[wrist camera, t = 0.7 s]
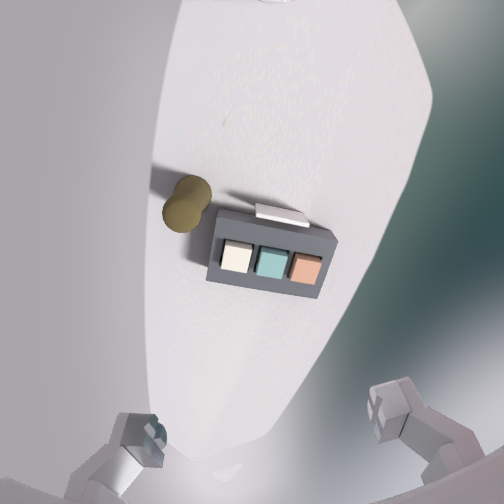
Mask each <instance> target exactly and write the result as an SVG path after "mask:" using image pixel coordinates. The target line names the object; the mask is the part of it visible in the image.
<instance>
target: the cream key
mask: <svg viewBox="0 0 504 504" xmlns="http://www.w3.org/2000/svg"><path fill="white" fill-rule="evenodd" d="M251 253H252V243H247V242H242V241H236V240H231V239H226V242H225V247H224V252H223V257H222V264H221V269H225V270H231V271H237V272H242V273H247V270H248V266H249V262H250V257H251Z"/></svg>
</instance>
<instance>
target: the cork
mask: <svg viewBox="0 0 504 504" xmlns="http://www.w3.org/2000/svg"><path fill="white" fill-rule="evenodd" d="M211 197H212V192H211V188H210V186H209V184H208V183H207V182H206V180H204V179H202V178H201V177H198V176H187V177H185V178H183V179H181V180H180V181H179V182H178V184H177V185H176V187H175V190H174V193H173V196H171V197H170V198H169V199H168V200H167V201H166V202H165V204H164V206H163V211H162V215H163V220H164V222H165V224H166V225H167V226H168V227H169V228H170V229H171V230H173V231H175V232H179V233H186V232H189V231H191V230H193V229H194V228H195V227H197V225H198V224H199V222H200V220H201V216H202V211H203V210H204V209H205V208H206V207H207V206H208V204H209V203H210V201H211Z"/></svg>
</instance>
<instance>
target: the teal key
mask: <svg viewBox="0 0 504 504" xmlns="http://www.w3.org/2000/svg"><path fill="white" fill-rule="evenodd" d="M287 259H288V255H287V251H286V250H284V249H279V248H274V247H268V246H263V245H261V246H260V250H259V254H258V258H257V262H256V275H259V276H265V277H271V278H277V279H282V275H283V272H284V269H285V265H286V262H287Z"/></svg>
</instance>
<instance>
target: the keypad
mask: <svg viewBox="0 0 504 504" xmlns="http://www.w3.org/2000/svg"><path fill="white" fill-rule="evenodd" d="M255 213H256V215H253V214H248V213H243V212H237V211H232V210H227V209H221V208H219V210H218V214H217V219H216V224H215V230H214V235H213V241H212V247H211V253H210V258H209V264H208V270H207V276H206V281H211V282H217V283H223V284H228V285H234V286H240V287H246V288H252V289H258V290H264V291H270V292H276V293H282V294H288V295H295V296H301V297H308V298H314V299H317V298H318V295H319V293H320V290H321V287H322V285H323V282H324V279H325V277H326V274H327V271H328V268H329V266H330V263H331V260H332V257H333V255H334V252H335V249H336V246H337V243H338V240H337V239H336V237H335V236H334V234H333V233H332V231H330V230H325V229H321V228H316V227H311V226H309V225H310V223H309V221H308V220H307V218H306V216H305V214H304V213H302V212H297V211H292V210H288V209H283V208H278V207H274V206H269V205H264V204H259V203H255ZM226 239H231V240H236V241H242V242H247V243H252V253H251V257H250V262H249V266H248V270H247V273H242V272H237V271H231V270H225V269H221V264H222V257H223V252H224V247H225V242H226ZM261 245H263V246H268V247H274V248H279V249H284V250H286V251H287V255H288V259H287V262H286V265H285V269H284V272H283V275H282V279H277V278H271V277H265V276H259V275H256V262H257V258H258V254H259V250H260V246H261ZM294 251H295V252H300V253H305V254H311V255H316V256H319V258H320V260H321V262H322V264H321V267H320V270H319V273H318V276H317V278H316V281H315V284H314V285H313V284H307V283H301V282H295V281H290V277H289V273H288V270H289V267H290V264H291V261H292V257H293V254H294Z"/></svg>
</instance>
